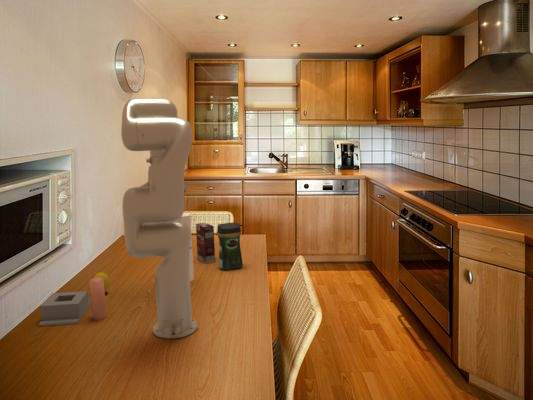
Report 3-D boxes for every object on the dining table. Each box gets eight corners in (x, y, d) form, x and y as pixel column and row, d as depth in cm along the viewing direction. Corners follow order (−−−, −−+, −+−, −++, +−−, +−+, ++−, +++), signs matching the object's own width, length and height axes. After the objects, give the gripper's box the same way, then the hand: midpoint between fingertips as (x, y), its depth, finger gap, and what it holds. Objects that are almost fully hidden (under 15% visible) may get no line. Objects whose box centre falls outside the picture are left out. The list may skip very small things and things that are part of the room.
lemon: (104, 289, 167) (102, 268, 166) (113, 293, 164) (111, 271, 163) (90, 294, 163) (88, 272, 162) (99, 297, 160) (97, 275, 158)
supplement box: (196, 259, 203) (195, 223, 201) (206, 257, 206) (205, 222, 203) (205, 263, 196) (203, 227, 193) (215, 261, 198) (214, 225, 196)
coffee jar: (239, 263, 195) (237, 220, 192) (244, 268, 188) (243, 223, 185) (216, 266, 192) (214, 222, 189) (221, 271, 185) (219, 226, 182)
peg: (104, 319, 142) (101, 281, 140) (91, 320, 141) (87, 282, 139) (107, 314, 145) (104, 277, 144) (94, 314, 145) (91, 277, 143)
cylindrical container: (189, 283, 172) (186, 217, 168) (171, 282, 174) (167, 216, 170) (196, 277, 179) (193, 213, 175) (179, 276, 181) (175, 213, 177)
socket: (77, 323, 139) (75, 306, 138) (38, 326, 138) (37, 309, 137) (91, 303, 154) (89, 288, 154) (56, 305, 153) (55, 290, 152)
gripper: (137, 163, 156) (141, 213, 159) (188, 160, 163) (190, 208, 165) (134, 162, 163) (138, 210, 166) (183, 159, 170) (185, 205, 172)
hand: (164, 209), depth 166 cm, fingers open, 9 cm apart
